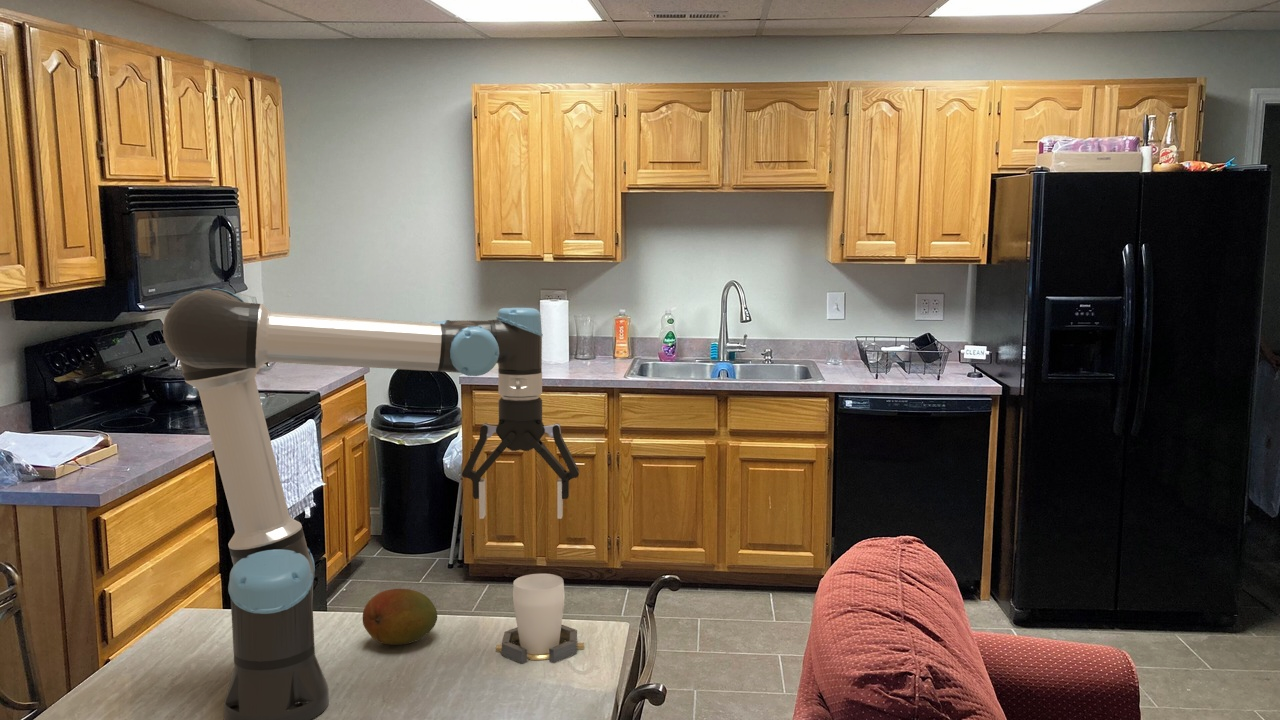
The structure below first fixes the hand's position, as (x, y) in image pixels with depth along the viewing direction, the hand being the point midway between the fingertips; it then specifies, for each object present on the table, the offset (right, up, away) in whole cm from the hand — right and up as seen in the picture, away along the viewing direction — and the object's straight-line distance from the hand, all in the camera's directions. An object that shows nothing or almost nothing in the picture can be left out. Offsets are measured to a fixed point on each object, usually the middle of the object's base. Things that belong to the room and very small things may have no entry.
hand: (521, 517), depth 177 cm
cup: (+3, -23, 0) cm, 23 cm away
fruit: (-22, -23, +4) cm, 32 cm away
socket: (+3, -23, 0) cm, 23 cm away
